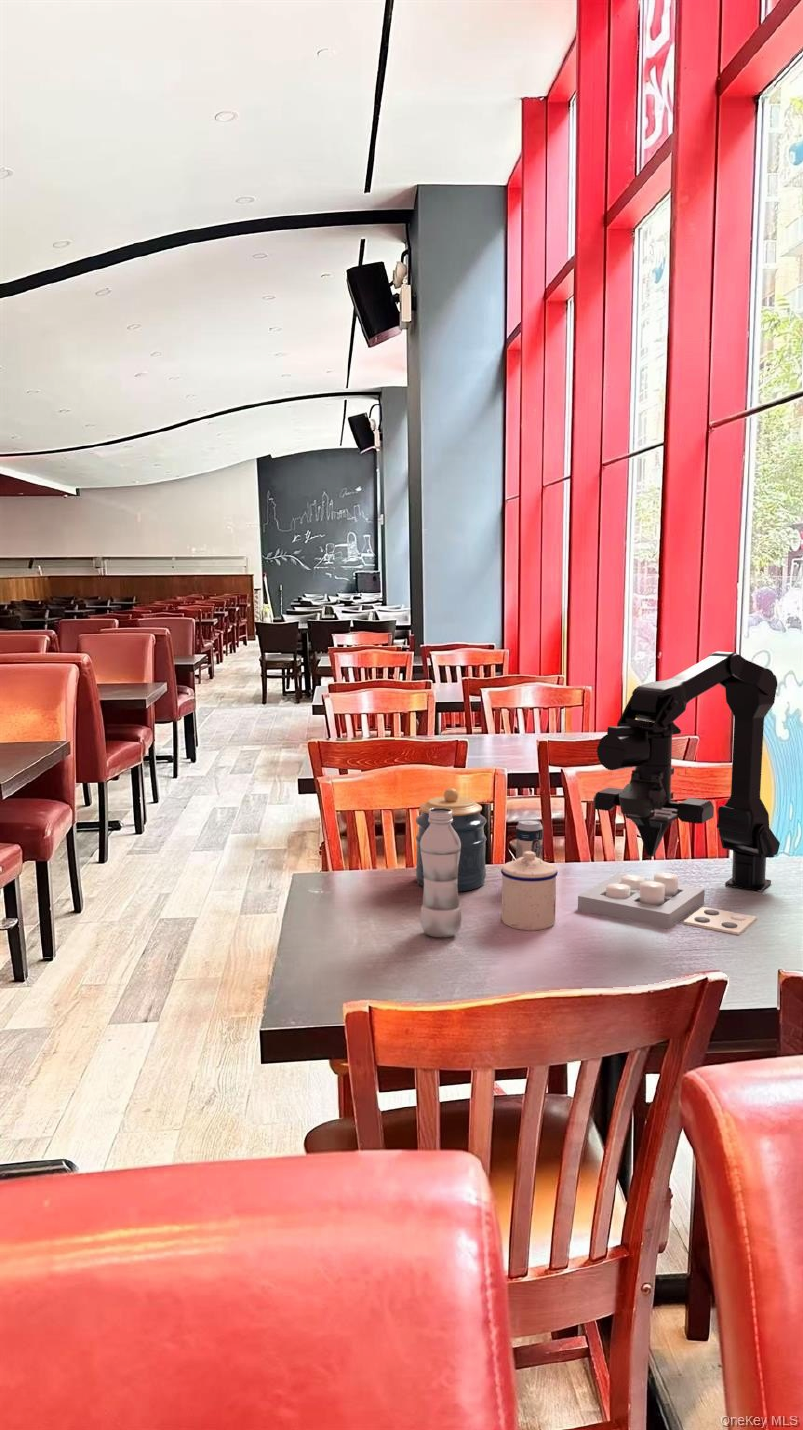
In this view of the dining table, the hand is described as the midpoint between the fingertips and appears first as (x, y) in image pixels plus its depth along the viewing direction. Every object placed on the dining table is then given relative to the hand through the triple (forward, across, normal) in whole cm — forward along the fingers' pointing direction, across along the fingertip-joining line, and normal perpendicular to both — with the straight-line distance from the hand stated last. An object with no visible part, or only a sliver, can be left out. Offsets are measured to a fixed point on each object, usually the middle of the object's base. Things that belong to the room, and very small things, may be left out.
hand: (650, 855), depth 164 cm
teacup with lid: (+10, -15, -15) cm, 24 cm away
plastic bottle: (+10, -22, -29) cm, 38 cm away
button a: (+9, -6, +6) cm, 13 cm away
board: (+10, -3, +3) cm, 11 cm away
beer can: (+10, -24, +1) cm, 26 cm away
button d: (+8, 0, 0) cm, 8 cm away
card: (+10, +11, +3) cm, 15 cm away
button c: (+10, -6, 0) cm, 11 cm away
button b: (+8, 0, +6) cm, 10 cm away
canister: (+10, -36, -5) cm, 38 cm away
